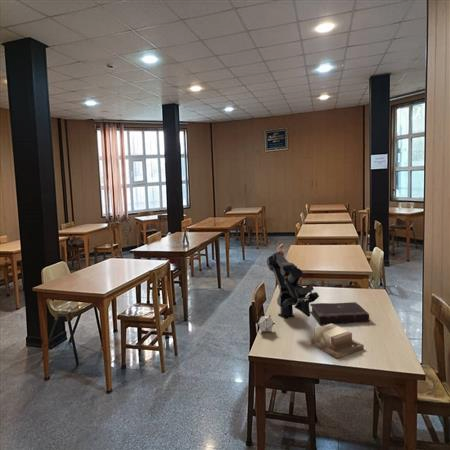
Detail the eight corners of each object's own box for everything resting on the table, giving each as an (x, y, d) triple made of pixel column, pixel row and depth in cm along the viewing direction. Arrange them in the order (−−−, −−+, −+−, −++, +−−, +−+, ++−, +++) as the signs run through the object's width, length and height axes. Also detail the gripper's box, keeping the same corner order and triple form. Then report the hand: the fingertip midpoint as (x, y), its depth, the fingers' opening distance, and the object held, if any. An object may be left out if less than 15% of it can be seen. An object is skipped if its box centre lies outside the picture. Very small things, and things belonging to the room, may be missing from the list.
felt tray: (311, 344, 162) (311, 340, 162) (337, 335, 169) (337, 332, 169) (336, 358, 149) (336, 354, 149) (363, 349, 156) (363, 345, 156)
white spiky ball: (268, 337, 179) (277, 318, 181) (270, 338, 171) (280, 319, 173) (251, 328, 180) (261, 309, 182) (253, 329, 171) (263, 309, 173)
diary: (369, 323, 182) (369, 313, 182) (319, 326, 181) (319, 316, 181) (354, 309, 201) (354, 300, 200) (309, 312, 200) (309, 303, 199)
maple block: (314, 328, 163) (334, 338, 153) (331, 323, 168) (352, 332, 157) (314, 341, 164) (334, 352, 154) (331, 335, 169) (351, 346, 158)
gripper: (287, 282, 171) (302, 312, 163) (317, 276, 180) (333, 304, 172) (276, 293, 179) (290, 323, 171) (305, 287, 188) (320, 315, 180)
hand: (309, 316), depth 174 cm, fingers closed
